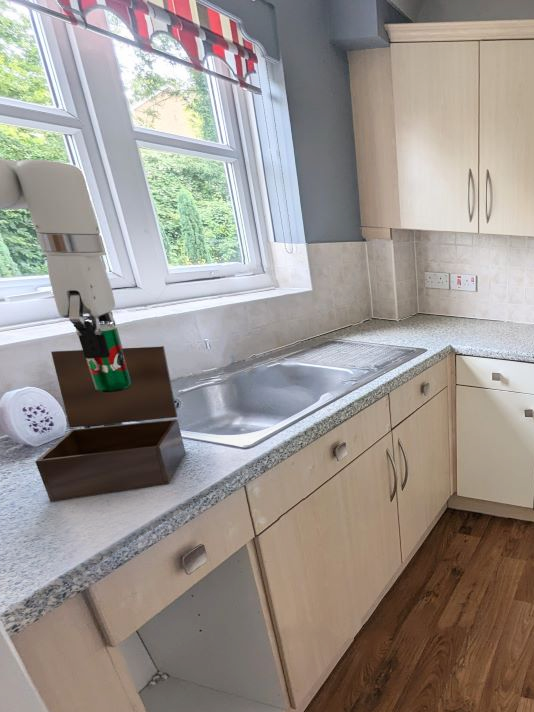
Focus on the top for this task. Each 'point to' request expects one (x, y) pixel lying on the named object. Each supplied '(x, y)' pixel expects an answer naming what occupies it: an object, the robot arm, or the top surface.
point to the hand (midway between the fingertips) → (104, 352)
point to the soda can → (110, 363)
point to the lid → (133, 404)
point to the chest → (112, 459)
